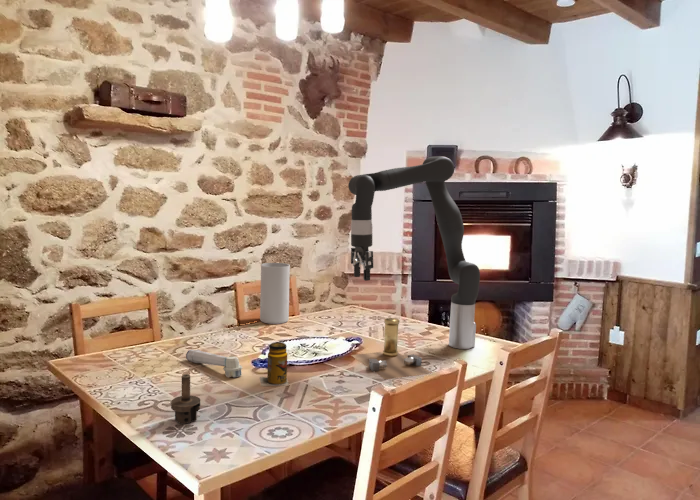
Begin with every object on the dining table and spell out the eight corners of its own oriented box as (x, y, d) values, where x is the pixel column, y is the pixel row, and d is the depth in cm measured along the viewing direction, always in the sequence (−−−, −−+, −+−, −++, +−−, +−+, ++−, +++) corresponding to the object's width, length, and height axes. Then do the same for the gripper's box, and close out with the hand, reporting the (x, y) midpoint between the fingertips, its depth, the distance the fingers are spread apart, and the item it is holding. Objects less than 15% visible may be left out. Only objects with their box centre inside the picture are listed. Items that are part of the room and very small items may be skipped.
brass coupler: (393, 351, 207) (394, 317, 205) (400, 356, 202) (402, 321, 200) (380, 353, 205) (381, 318, 203) (387, 357, 200) (388, 322, 198)
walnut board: (394, 352, 209) (394, 350, 208) (432, 374, 185) (432, 373, 185) (350, 356, 201) (350, 355, 201) (384, 381, 178) (384, 379, 178)
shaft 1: (383, 366, 190) (384, 358, 190) (387, 370, 186) (387, 362, 185) (368, 367, 189) (369, 359, 188) (372, 371, 185) (372, 363, 184)
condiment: (289, 385, 171) (290, 347, 170) (261, 386, 169) (261, 348, 168) (286, 377, 178) (287, 340, 177) (259, 378, 176) (260, 341, 175)
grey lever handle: (196, 347, 193) (244, 353, 178) (198, 366, 193) (246, 374, 178) (183, 350, 189) (231, 357, 173) (185, 370, 189) (233, 378, 174)
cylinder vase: (273, 315, 256) (274, 261, 253) (294, 320, 249) (295, 265, 246) (254, 320, 246) (254, 264, 243) (274, 325, 239) (276, 268, 236)
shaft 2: (412, 362, 196) (413, 354, 196) (421, 365, 192) (421, 357, 192) (401, 364, 193) (401, 356, 192) (410, 368, 189) (410, 360, 189)
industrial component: (164, 421, 143) (164, 376, 142) (185, 412, 149) (185, 368, 148) (190, 431, 138) (190, 384, 137) (211, 420, 144) (211, 376, 143)
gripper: (380, 234, 191) (380, 281, 193) (363, 230, 204) (363, 274, 206) (360, 234, 188) (360, 282, 190) (344, 231, 201) (344, 276, 203)
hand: (361, 278), depth 198 cm, fingers open, 8 cm apart
